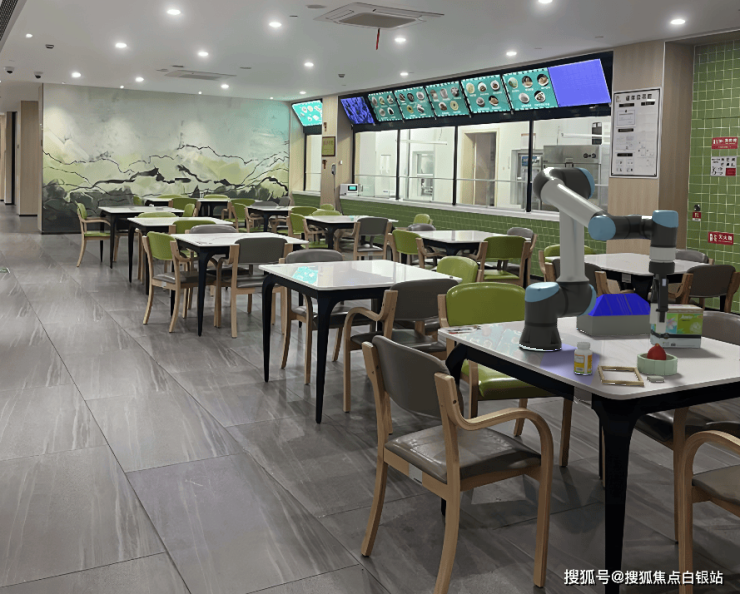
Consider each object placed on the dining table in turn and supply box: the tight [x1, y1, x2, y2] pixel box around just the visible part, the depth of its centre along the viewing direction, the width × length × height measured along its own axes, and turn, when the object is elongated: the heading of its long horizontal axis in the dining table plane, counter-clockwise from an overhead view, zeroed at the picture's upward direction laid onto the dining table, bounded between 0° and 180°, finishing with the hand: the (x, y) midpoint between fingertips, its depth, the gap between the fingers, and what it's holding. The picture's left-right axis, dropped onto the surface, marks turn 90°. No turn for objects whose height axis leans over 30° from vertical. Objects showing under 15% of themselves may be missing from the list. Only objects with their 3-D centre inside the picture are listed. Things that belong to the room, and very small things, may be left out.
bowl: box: [636, 352, 679, 376], centre depth 228 cm, size 12×12×4 cm
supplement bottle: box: [573, 341, 593, 375], centre depth 225 cm, size 5×5×10 cm
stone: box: [646, 375, 665, 383], centre depth 217 cm, size 4×3×2 cm
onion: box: [646, 343, 667, 360], centre depth 229 cm, size 6×6×8 cm
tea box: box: [649, 303, 705, 349], centre depth 264 cm, size 15×10×15 cm, turn 88°
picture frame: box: [597, 365, 645, 387], centre depth 221 cm, size 12×19×1 cm, turn 166°
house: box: [575, 292, 651, 337], centre depth 291 cm, size 25×16×16 cm, turn 96°
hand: (657, 328), depth 227 cm, fingers open, 13 cm apart
